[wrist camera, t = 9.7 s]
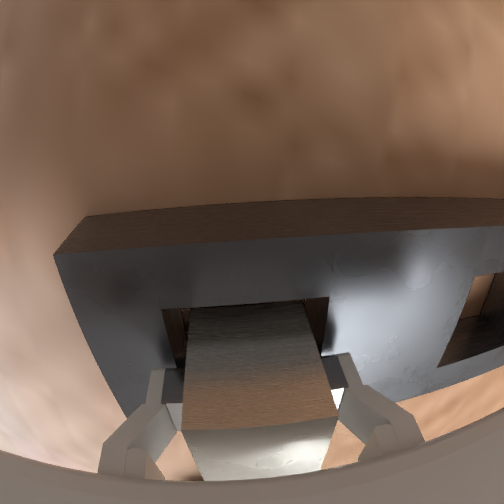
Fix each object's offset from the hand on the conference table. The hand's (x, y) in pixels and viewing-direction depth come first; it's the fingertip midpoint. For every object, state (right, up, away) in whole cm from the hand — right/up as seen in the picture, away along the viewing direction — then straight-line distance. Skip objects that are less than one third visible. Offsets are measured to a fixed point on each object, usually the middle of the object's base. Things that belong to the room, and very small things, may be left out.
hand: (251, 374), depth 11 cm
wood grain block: (0, +1, +1) cm, 2 cm away
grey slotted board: (+6, +2, +4) cm, 7 cm away
